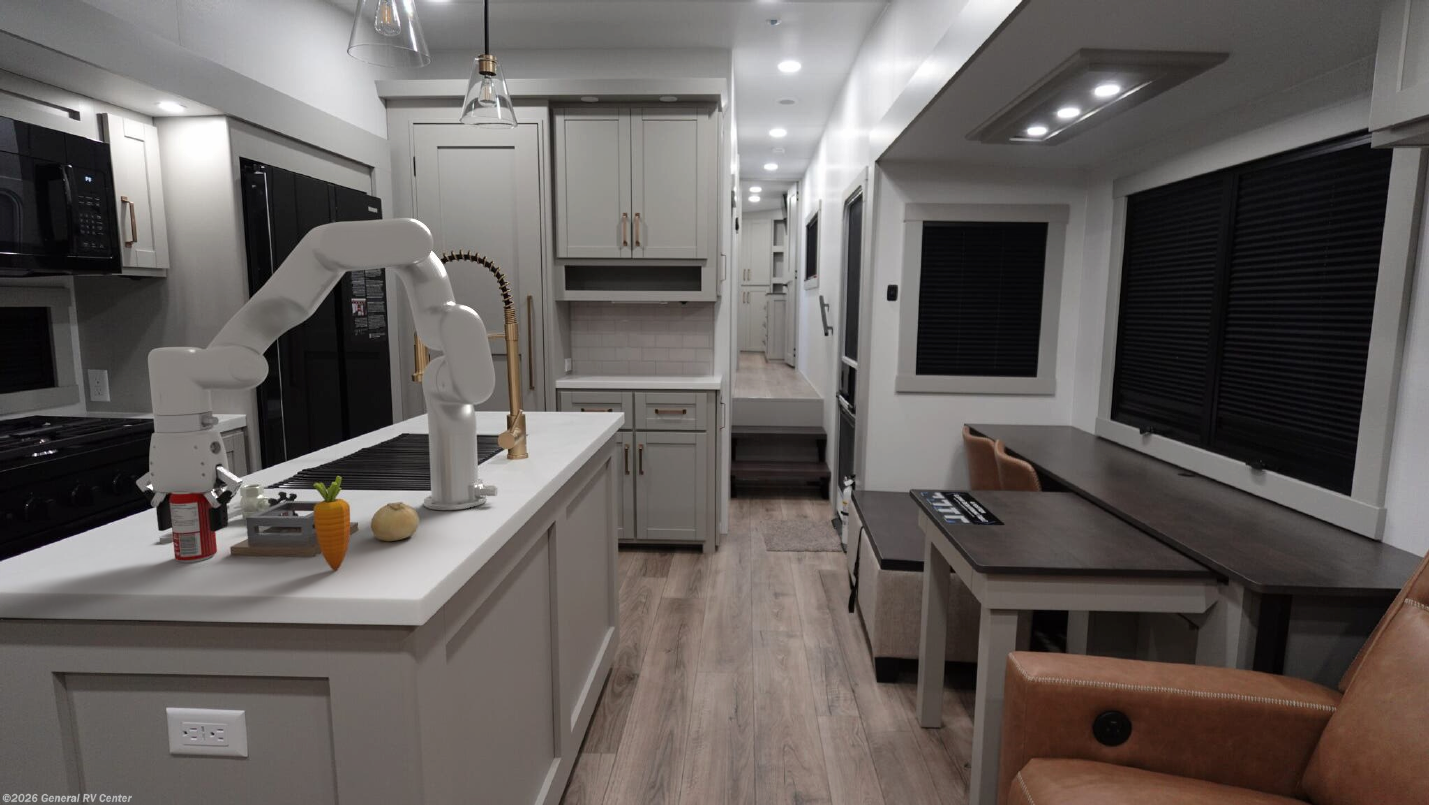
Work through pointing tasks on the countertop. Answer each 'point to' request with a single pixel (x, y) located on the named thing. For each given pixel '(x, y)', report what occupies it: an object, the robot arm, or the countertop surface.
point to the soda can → (191, 527)
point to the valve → (260, 500)
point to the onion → (394, 522)
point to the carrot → (332, 524)
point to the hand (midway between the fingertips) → (193, 528)
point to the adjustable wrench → (232, 512)
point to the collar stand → (282, 532)
